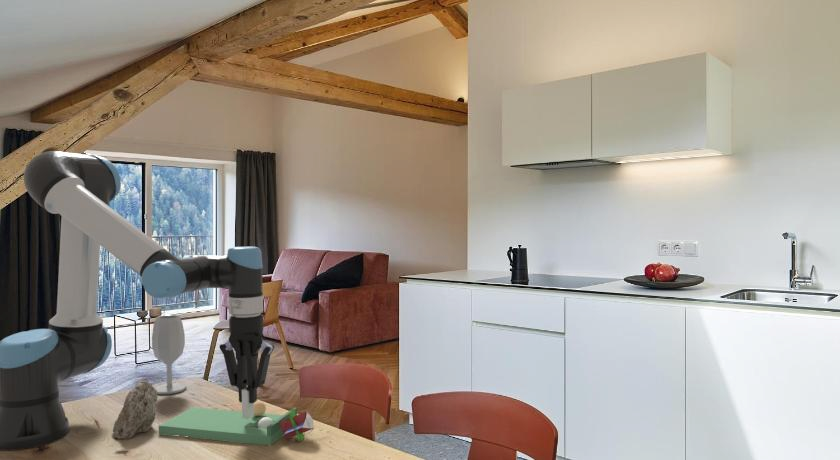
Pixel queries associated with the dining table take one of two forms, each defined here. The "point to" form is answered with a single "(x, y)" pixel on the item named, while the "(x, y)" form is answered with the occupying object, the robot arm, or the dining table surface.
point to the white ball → (265, 422)
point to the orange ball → (259, 408)
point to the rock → (136, 411)
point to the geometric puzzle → (297, 425)
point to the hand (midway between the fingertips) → (248, 416)
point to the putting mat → (224, 426)
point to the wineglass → (168, 348)
